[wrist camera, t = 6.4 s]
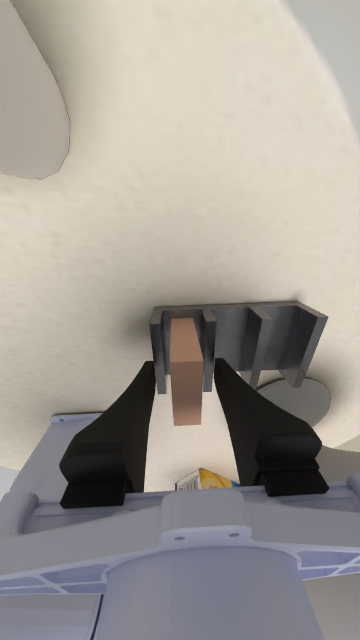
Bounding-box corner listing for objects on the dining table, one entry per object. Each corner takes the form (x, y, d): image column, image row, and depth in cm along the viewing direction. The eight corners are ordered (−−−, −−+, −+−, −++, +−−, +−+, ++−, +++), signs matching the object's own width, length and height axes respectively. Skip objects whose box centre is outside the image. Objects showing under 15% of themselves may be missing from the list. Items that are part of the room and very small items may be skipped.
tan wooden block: (173, 369, 18) (174, 425, 12) (171, 318, 15) (169, 362, 10) (192, 368, 18) (200, 424, 13) (193, 317, 15) (203, 360, 10)
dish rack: (160, 368, 19) (157, 394, 16) (154, 306, 16) (149, 323, 13) (279, 363, 19) (300, 387, 16) (298, 301, 16) (328, 316, 13)
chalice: (209, 413, 23) (260, 666, 9) (300, 349, 19) (637, 642, 5) (268, 449, 27) (361, 656, 14) (353, 404, 23) (608, 640, 10)
